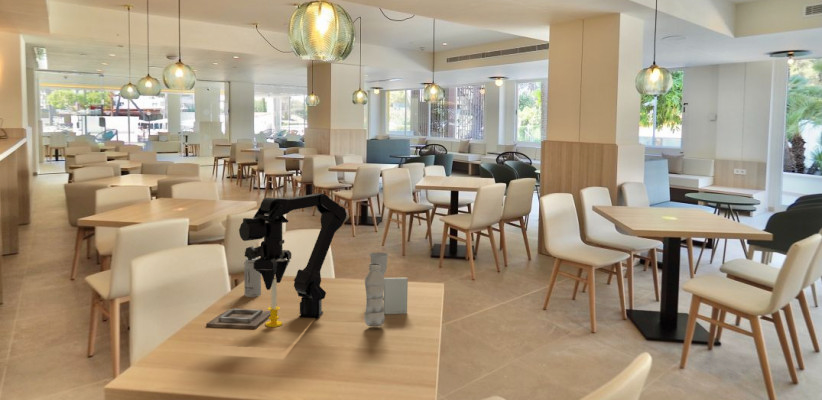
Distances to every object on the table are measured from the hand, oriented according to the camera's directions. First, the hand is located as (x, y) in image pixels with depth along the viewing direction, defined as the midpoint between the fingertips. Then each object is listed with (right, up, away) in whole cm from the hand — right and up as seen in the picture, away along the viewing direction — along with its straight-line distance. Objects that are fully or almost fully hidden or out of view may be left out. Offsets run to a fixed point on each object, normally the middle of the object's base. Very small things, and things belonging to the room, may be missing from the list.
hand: (273, 286), depth 172 cm
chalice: (+32, -11, +30) cm, 45 cm away
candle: (0, -13, +1) cm, 13 cm away
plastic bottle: (+32, -13, +1) cm, 35 cm away
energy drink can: (-16, -10, +33) cm, 38 cm away
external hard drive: (+38, -12, +16) cm, 43 cm away
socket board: (-12, -12, +5) cm, 18 cm away
